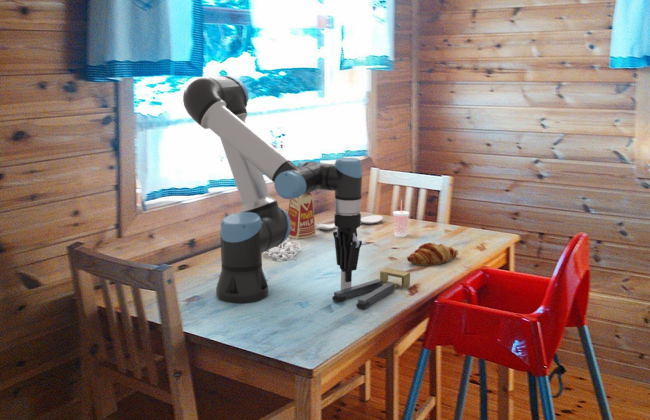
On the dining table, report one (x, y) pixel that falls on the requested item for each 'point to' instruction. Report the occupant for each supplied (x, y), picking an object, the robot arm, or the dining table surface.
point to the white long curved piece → (365, 220)
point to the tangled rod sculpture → (283, 250)
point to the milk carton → (302, 217)
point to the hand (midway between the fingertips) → (346, 291)
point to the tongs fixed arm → (376, 295)
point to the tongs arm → (357, 290)
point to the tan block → (395, 273)
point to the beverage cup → (400, 222)
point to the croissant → (432, 254)
